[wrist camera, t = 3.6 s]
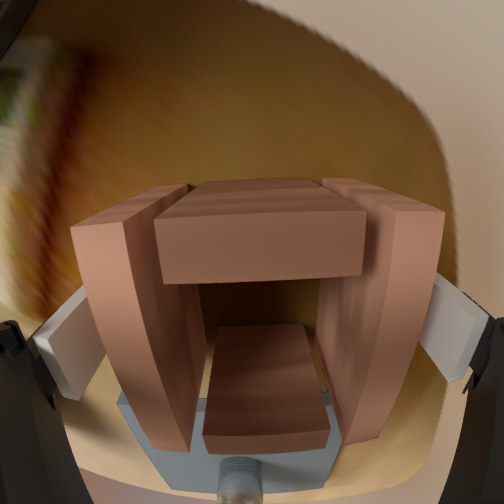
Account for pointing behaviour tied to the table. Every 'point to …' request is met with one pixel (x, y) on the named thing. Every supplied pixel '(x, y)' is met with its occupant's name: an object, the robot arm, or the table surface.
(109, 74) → the table surface
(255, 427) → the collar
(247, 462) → the steel post
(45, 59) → the table surface
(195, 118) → the table surface
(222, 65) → the table surface
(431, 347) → the robot arm
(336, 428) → the post board
